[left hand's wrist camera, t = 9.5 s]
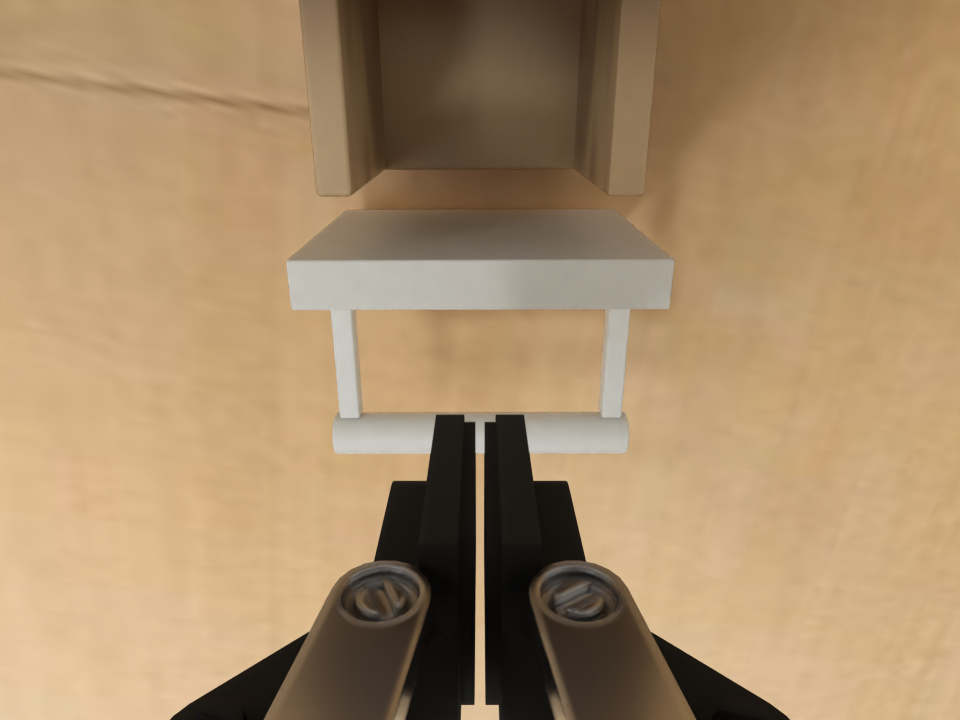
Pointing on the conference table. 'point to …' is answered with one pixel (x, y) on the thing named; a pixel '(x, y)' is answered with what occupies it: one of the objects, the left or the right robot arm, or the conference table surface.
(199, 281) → the conference table surface
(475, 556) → the left robot arm
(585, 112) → the drawer
